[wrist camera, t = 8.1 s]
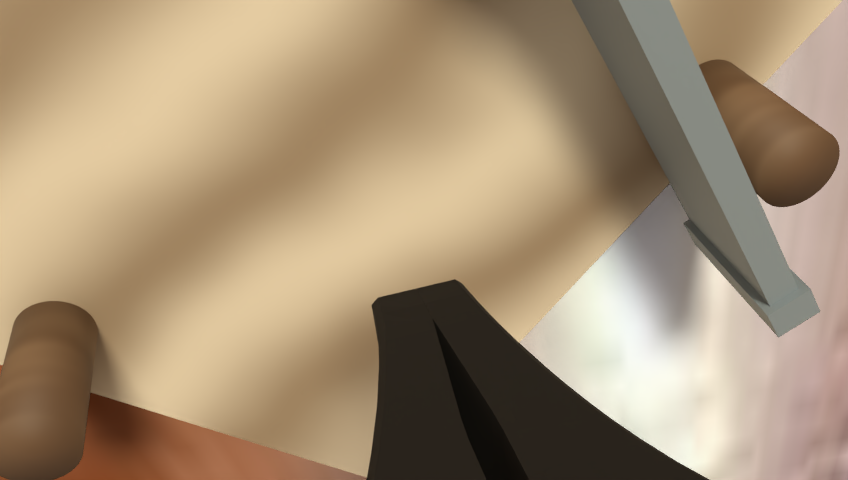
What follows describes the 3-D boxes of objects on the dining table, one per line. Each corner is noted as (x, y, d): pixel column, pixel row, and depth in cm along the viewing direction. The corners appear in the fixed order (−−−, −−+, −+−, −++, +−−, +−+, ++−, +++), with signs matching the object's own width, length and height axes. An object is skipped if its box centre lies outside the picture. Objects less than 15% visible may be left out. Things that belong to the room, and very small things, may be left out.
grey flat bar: (460, -184, 16) (536, -143, 12) (511, -223, 15) (602, -193, 12) (694, 244, 24) (778, 337, 20) (730, 221, 24) (820, 311, 20)
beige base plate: (-331, 229, 18) (-516, 432, 13) (90, -820, 11) (23, -1180, 6) (379, 460, 28) (420, 621, 23) (818, -14, 21) (1000, 77, 17)
